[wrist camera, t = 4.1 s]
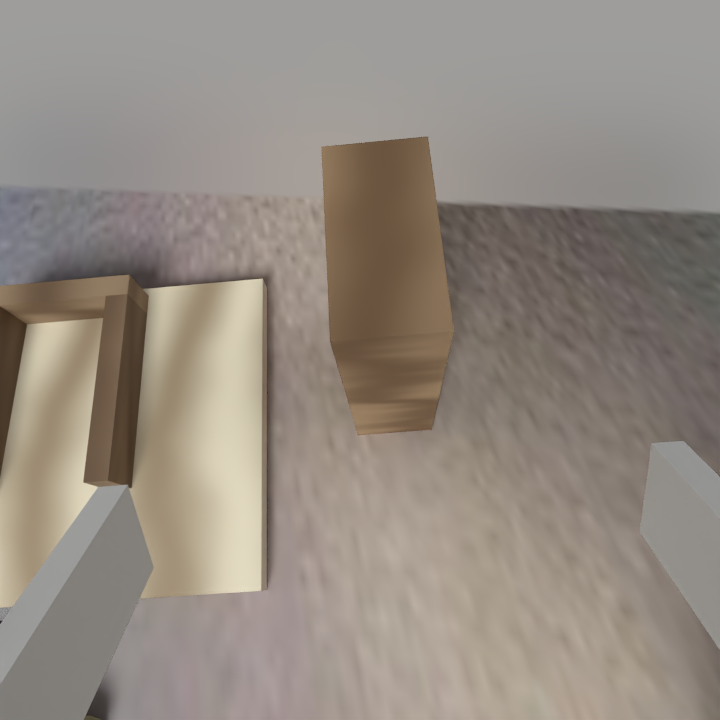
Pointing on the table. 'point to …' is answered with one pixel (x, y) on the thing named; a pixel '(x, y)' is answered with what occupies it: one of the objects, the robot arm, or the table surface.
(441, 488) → the table surface
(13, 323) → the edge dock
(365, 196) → the brown rectangular block
